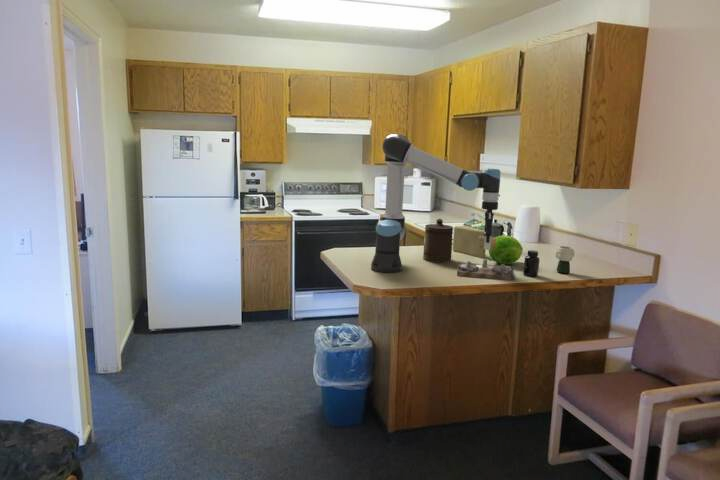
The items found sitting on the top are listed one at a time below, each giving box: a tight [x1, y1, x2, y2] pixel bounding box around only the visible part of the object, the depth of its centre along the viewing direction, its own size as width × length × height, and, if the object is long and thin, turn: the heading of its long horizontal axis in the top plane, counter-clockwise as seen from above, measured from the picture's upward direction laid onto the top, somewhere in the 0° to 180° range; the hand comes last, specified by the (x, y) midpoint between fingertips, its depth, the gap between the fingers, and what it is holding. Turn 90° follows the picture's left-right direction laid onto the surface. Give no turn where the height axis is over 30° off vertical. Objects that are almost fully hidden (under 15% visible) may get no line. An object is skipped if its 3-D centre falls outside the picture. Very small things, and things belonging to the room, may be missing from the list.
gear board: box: [456, 258, 515, 281], centre depth 250 cm, size 26×20×6 cm
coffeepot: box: [486, 219, 505, 251], centre depth 305 cm, size 15×9×18 cm, turn 19°
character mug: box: [555, 245, 575, 274], centre depth 256 cm, size 11×7×13 cm, turn 109°
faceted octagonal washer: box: [478, 236, 496, 250], centre depth 251 cm, size 8×8×5 cm
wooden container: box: [422, 218, 454, 263], centre depth 273 cm, size 15×15×22 cm
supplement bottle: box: [522, 249, 540, 278], centre depth 248 cm, size 7×7×12 cm
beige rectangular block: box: [452, 225, 487, 259], centre depth 291 cm, size 22×10×15 cm, turn 29°
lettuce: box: [487, 234, 524, 265], centre depth 271 cm, size 17×20×15 cm
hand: (486, 247), depth 251 cm, fingers closed on faceted octagonal washer, 8 cm apart
